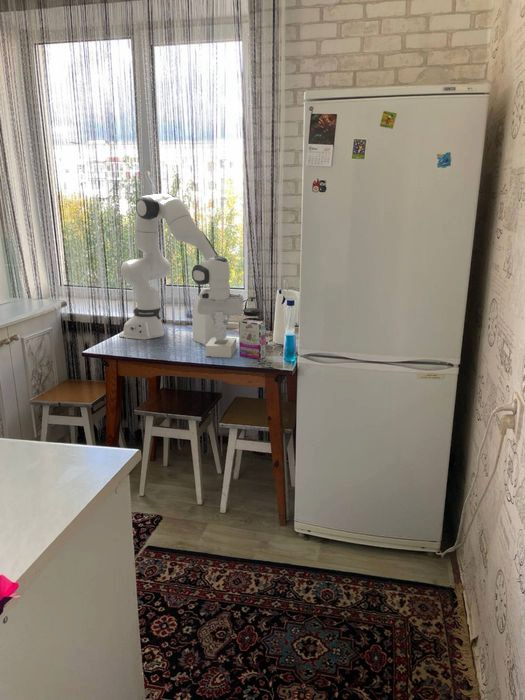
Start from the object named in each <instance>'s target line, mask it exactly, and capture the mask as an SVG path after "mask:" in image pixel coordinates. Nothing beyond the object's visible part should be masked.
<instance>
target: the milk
mask: <svg viewBox="0 0 525 700" xmlns="http://www.w3.org/2000/svg"><path fill="white" fill-rule="evenodd" d="M207 290H210V287H204V288H201V290H200V291H199V295H198V296H197V297H196V298H195V300H194V301H193V303H192V341H195V342H196V343H199V344H201V345H204V346H206V344H207V343H208V342H209V341H210V339H211V338H212V337H216V324H214V322H213V320H212V318H211V315H208V314H199V313H198V302H199V300H200V299H201V298H200V294H201V293H202V292H204V291H207ZM214 318H215V316H214Z"/></svg>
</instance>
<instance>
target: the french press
mask: <svg viewBox="0 0 525 700" xmlns="http://www.w3.org/2000/svg"><path fill="white" fill-rule="evenodd" d="M247 299H248V300H250V302H251V303H253V302H254V300H256V299H257V297H256V296H248V297H247ZM262 311H263V310H262V309H261V308H257V307H248V308H243V316H245V319H247V320H255V321H262V319H261V318H258V317H259V316H261V314H262V313H261V312H262ZM247 317H248V318H247Z"/></svg>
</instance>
